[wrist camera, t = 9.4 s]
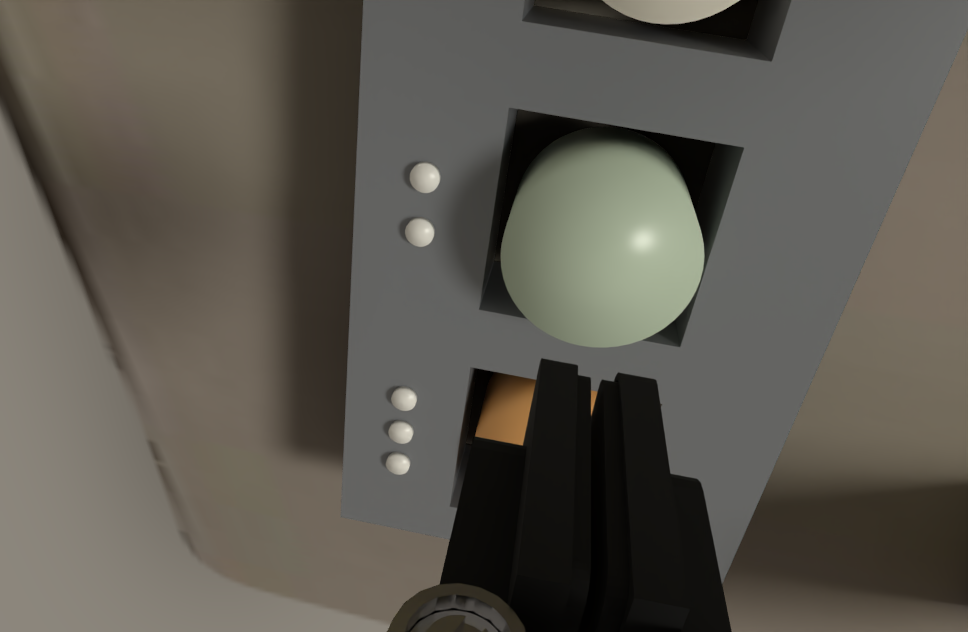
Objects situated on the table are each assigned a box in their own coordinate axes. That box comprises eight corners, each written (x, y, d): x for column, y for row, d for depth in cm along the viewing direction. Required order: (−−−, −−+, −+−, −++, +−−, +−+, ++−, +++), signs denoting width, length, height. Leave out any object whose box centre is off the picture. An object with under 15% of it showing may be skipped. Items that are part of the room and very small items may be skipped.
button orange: (495, 333, 22) (481, 389, 19) (639, 360, 22) (644, 421, 19) (477, 444, 24) (461, 508, 21) (607, 470, 24) (608, 538, 21)
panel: (421, -372, 14) (378, -440, 12) (1031, -292, 14) (1139, -345, 11) (367, 455, 25) (338, 521, 23) (705, 523, 25) (718, 600, 22)
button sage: (529, 112, 17) (517, 147, 15) (711, 143, 17) (731, 183, 15) (503, 273, 20) (488, 328, 17) (664, 303, 19) (673, 363, 17)
